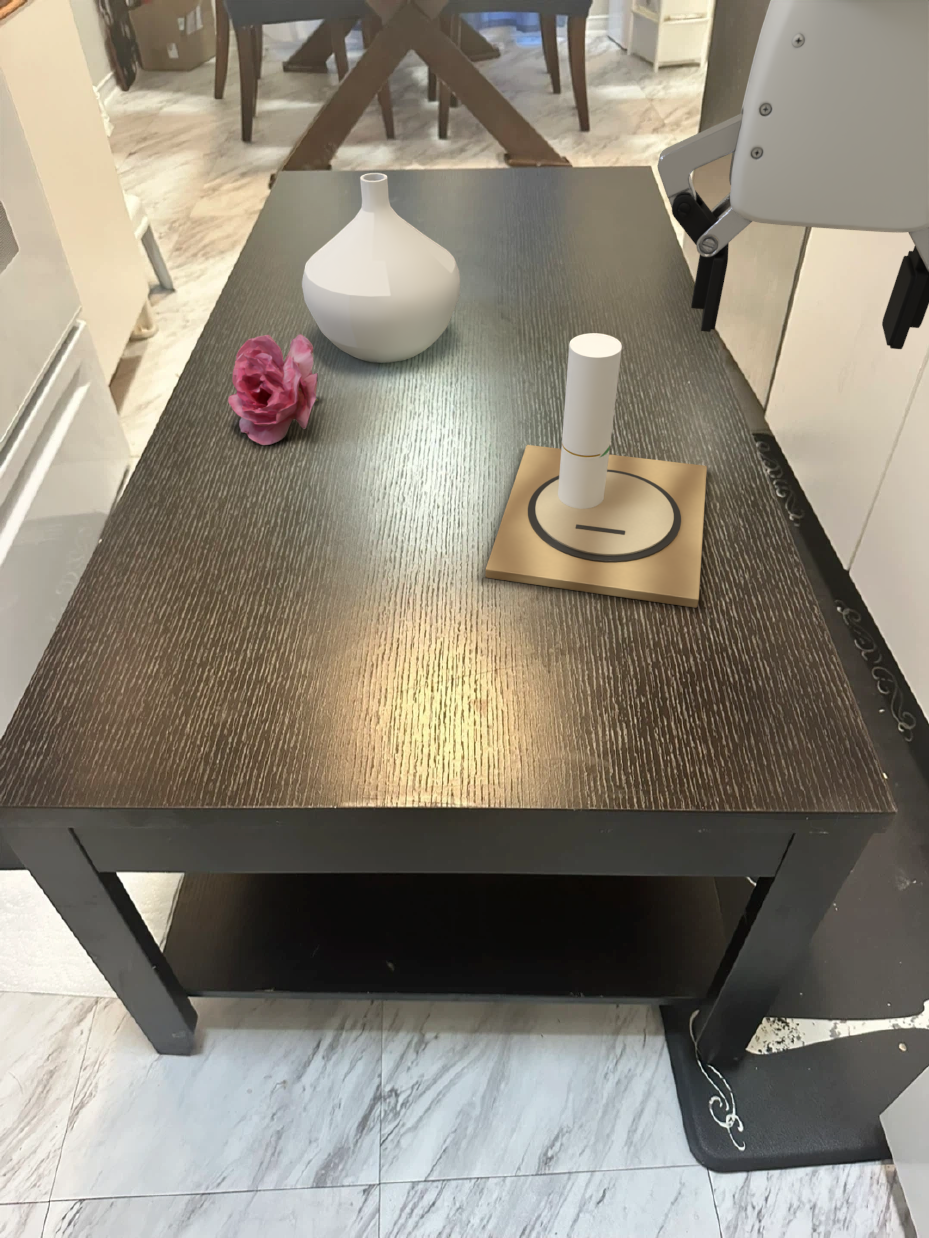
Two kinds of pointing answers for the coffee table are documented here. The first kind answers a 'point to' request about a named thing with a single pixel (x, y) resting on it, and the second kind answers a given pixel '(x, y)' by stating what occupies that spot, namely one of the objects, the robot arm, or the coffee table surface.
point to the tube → (588, 418)
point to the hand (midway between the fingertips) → (797, 329)
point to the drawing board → (606, 530)
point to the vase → (381, 283)
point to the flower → (273, 387)
